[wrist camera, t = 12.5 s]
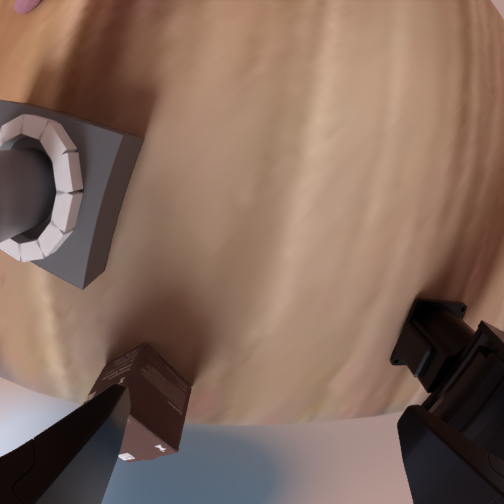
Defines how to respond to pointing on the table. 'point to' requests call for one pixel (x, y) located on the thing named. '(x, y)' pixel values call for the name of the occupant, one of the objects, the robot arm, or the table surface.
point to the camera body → (71, 188)
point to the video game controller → (25, 5)
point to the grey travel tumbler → (25, 190)
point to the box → (147, 403)
